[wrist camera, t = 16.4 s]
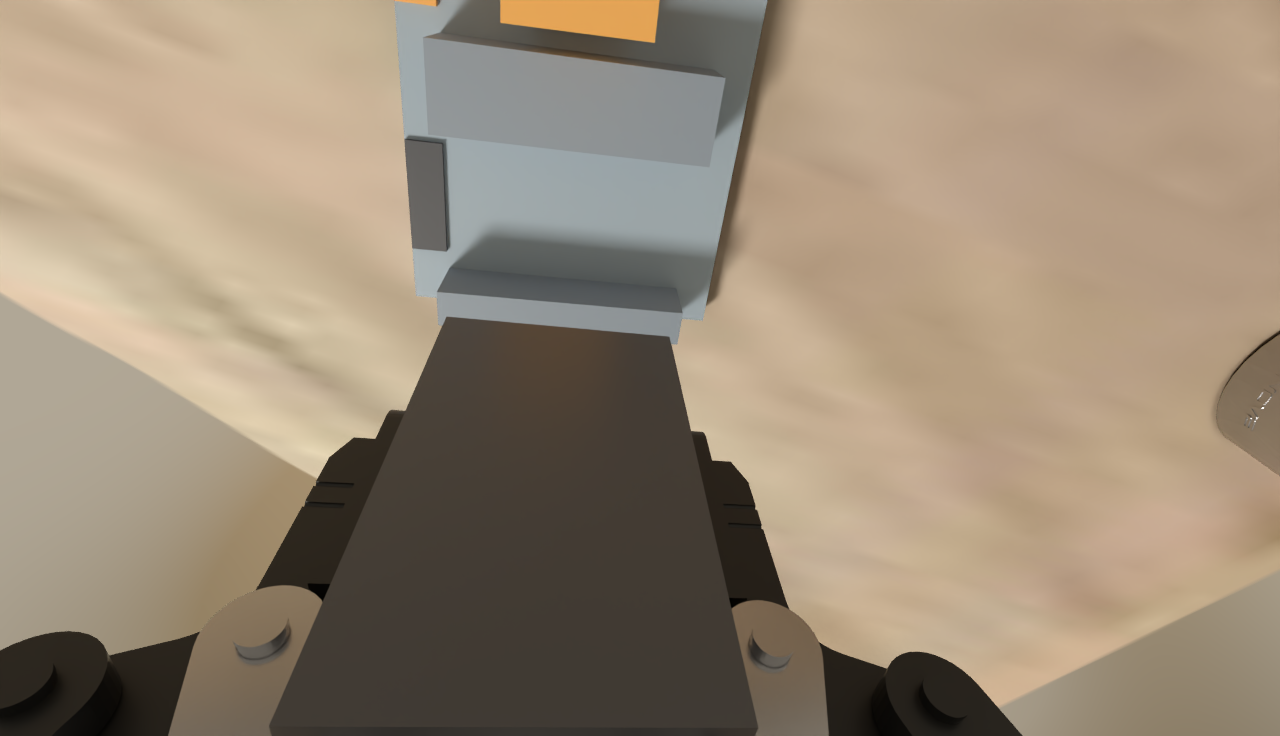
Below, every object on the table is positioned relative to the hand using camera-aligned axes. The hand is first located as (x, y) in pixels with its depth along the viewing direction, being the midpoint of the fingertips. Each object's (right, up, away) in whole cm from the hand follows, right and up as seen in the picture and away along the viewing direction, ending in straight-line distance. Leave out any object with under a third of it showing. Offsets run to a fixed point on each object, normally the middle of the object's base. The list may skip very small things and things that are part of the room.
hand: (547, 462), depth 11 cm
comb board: (-1, +13, +13) cm, 18 cm away
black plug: (0, +1, +1) cm, 1 cm away
